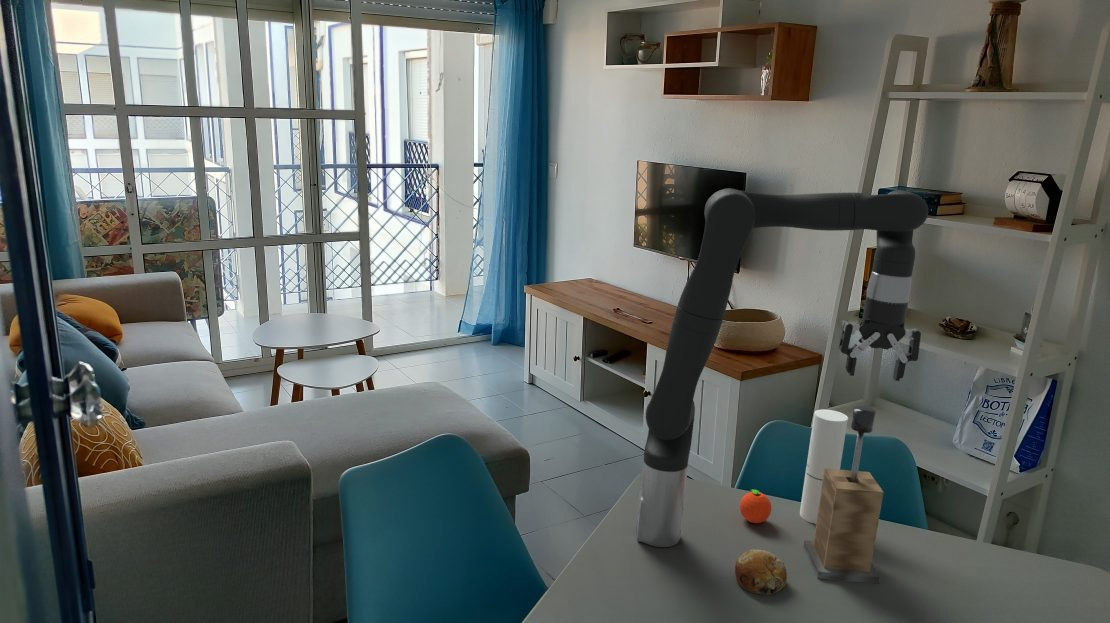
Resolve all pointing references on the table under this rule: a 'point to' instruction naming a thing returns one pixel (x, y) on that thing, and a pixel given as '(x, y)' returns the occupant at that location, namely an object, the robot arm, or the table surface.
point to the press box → (846, 527)
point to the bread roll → (760, 572)
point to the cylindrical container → (822, 457)
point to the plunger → (860, 433)
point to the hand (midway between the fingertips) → (873, 377)
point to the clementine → (755, 507)
